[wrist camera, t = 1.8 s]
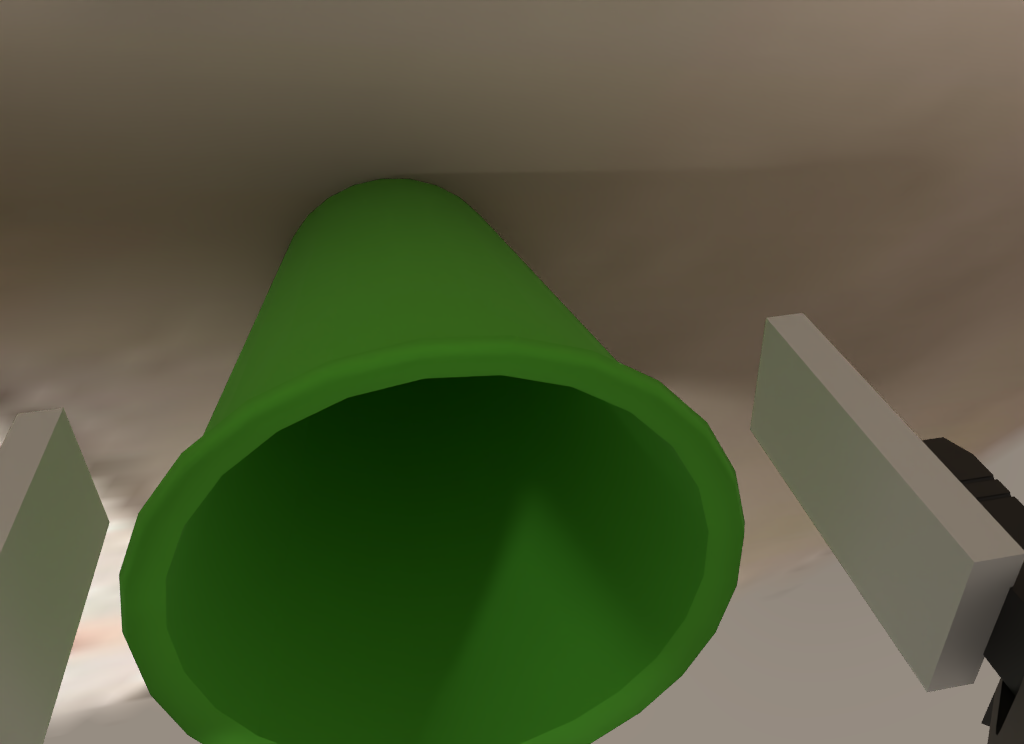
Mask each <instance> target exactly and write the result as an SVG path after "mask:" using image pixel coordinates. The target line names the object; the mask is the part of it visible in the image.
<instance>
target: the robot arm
mask: <svg viewBox="0 0 1024 744" xmlns="http://www.w3.org/2000/svg"><path fill="white" fill-rule="evenodd" d="M750 430H751V431H752V433H753V434H754V436H755V437H756V439H757V440H758V442H759V443H760V445H761V446H762V448H763V449H764V451H765V452H766V454H767V455H768V457H769V458H770V460H771V461H772V463H773V464H774V466H775V467H776V469H777V470H778V471H779V473H780V474H781V476H782V477H783V479H784V480H785V482H786V483H787V485H788V486H789V488H790V489H791V491H792V492H793V494H794V495H795V497H796V498H797V500H798V501H799V503H800V504H801V506H802V507H803V509H804V510H805V512H806V513H807V515H808V516H809V518H810V519H811V520H812V522H813V523H814V525H815V526H816V528H817V529H818V531H819V532H820V534H821V535H822V537H823V538H824V540H825V541H826V543H827V544H828V546H829V547H830V549H831V550H832V552H833V553H834V555H835V556H836V558H837V559H838V561H839V562H840V564H841V565H842V566H843V568H844V569H845V571H846V572H847V574H848V575H849V577H850V578H851V580H852V581H853V583H854V584H855V586H856V587H857V589H858V590H859V592H860V593H861V595H862V596H863V598H864V599H865V600H866V602H867V604H868V605H869V607H870V608H871V610H872V611H873V613H874V614H875V615H876V617H877V618H878V620H879V621H880V623H881V624H882V626H883V627H884V629H885V630H886V632H887V633H888V635H889V636H890V638H891V639H892V641H893V642H894V644H895V645H896V647H897V648H898V650H899V651H900V653H901V654H902V656H903V657H904V658H905V660H906V661H907V663H908V664H909V666H910V667H911V669H912V670H913V672H914V673H915V675H916V676H917V678H918V679H919V681H920V682H921V684H922V685H923V687H924V688H925V690H926V691H927V692H930V691H936V690H941V689H946V688H951V687H957V686H962V685H967V684H973V683H974V681H975V679H976V676H977V674H978V672H979V669H980V667H981V664H982V662H983V659H984V657H985V658H986V659H987V660H988V661H989V663H990V664H991V665H992V667H993V668H994V669H995V670H996V672H997V673H998V675H999V676H1000V677H1001V679H1000V681H999V684H998V686H997V688H996V691H995V693H994V695H993V698H992V700H991V702H990V704H989V707H988V709H987V711H986V714H985V716H984V718H983V721H982V724H985V725H987V726H990V730H989V737H988V744H1024V506H1023V505H1022V504H1021V503H1020V502H1019V501H1018V500H1017V499H1016V498H1015V497H1011V495H1010V492H1009V490H1007V488H1006V487H1004V486H1003V484H1002V483H1001V482H999V480H994V477H993V474H992V473H991V472H990V471H989V470H988V469H987V468H986V467H985V466H984V465H983V464H982V463H981V462H980V461H979V460H978V459H977V458H976V457H975V456H974V455H973V454H971V453H970V452H968V451H966V450H964V449H963V448H961V447H959V446H958V445H956V444H954V443H952V442H951V441H949V440H947V439H945V438H944V437H942V438H935V439H929V440H921V439H920V438H919V437H918V436H917V435H916V434H915V433H914V432H913V431H912V429H911V428H910V427H909V426H908V425H907V424H906V423H905V422H904V421H903V420H902V419H901V418H900V417H899V416H898V414H897V413H896V412H895V411H894V410H893V409H892V408H891V407H890V406H889V405H888V404H887V403H886V402H885V400H884V399H883V398H882V397H881V396H880V395H879V394H878V393H877V392H876V391H875V390H874V389H873V388H872V386H871V385H870V384H869V383H868V382H867V381H866V380H865V379H864V378H863V377H862V376H861V375H860V374H859V373H858V371H857V370H856V369H855V368H854V367H853V366H852V365H851V364H850V363H849V362H848V361H847V360H846V359H845V357H844V356H843V355H842V354H841V353H840V352H839V351H838V350H837V349H836V348H835V347H834V346H833V345H832V343H831V342H830V341H829V340H828V339H827V338H826V337H825V336H824V335H823V334H822V333H821V332H820V331H819V329H818V328H817V327H816V326H815V325H814V324H813V323H812V322H811V321H810V320H809V319H808V318H807V317H806V316H805V314H804V313H797V314H790V315H782V316H774V317H766V322H765V329H764V336H763V343H762V350H761V357H760V364H759V371H758V378H757V385H756V392H755V399H754V406H753V413H752V420H751V427H750ZM108 526H109V520H108V517H107V515H106V512H105V510H104V507H103V505H102V502H101V500H100V498H99V495H98V493H97V490H96V488H95V485H94V483H93V480H92V478H91V475H90V473H89V470H88V468H87V465H86V463H85V460H84V458H83V455H82V453H81V450H80V448H79V446H78V443H77V441H76V438H75V436H74V433H73V431H72V428H71V426H70V423H69V421H68V418H67V416H66V413H65V411H64V408H58V409H50V410H42V411H35V412H27V413H19V414H17V416H16V418H15V420H14V422H13V424H12V426H11V428H10V430H9V432H8V434H7V436H6V438H5V440H4V442H3V444H2V446H1V448H0V744H43V742H44V739H45V735H46V732H47V729H48V725H49V722H50V719H51V715H52V712H53V709H54V705H55V702H56V699H57V695H58V692H59V689H60V685H61V682H62V679H63V675H64V672H65V669H66V665H67V662H68V659H69V655H70V652H71V649H72V645H73V642H74V639H75V635H76V632H77V629H78V625H79V622H80V619H81V615H82V612H83V609H84V605H85V602H86V599H87V596H88V592H89V589H90V586H91V582H92V579H93V576H94V572H95V569H96V566H97V562H98V559H99V556H100V552H101V549H102V546H103V542H104V539H105V536H106V532H107V529H108Z"/></svg>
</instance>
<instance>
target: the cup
mask: <svg viewBox="0 0 1024 744" xmlns="http://www.w3.org/2000/svg"><path fill="white" fill-rule="evenodd" d="M744 525H745V521H744V516H743V510H742V505H741V500H740V494H739V489H738V483H737V478H736V472H735V470H734V468H733V466H732V465H731V463H730V461H729V459H728V458H727V456H726V454H725V453H724V451H723V449H722V447H721V446H720V444H719V442H718V441H717V439H716V437H715V435H714V434H713V432H712V430H711V429H710V427H709V425H708V423H707V422H706V421H705V420H703V419H702V418H701V417H700V416H699V415H698V414H697V413H695V412H694V411H693V410H692V409H691V408H690V407H689V406H687V405H686V404H685V403H684V402H683V401H682V400H680V399H679V398H678V397H677V396H676V395H675V394H674V393H672V392H671V391H670V390H669V389H668V388H667V387H666V386H664V385H663V384H662V383H661V382H660V381H658V380H656V379H654V378H652V377H649V376H647V375H645V374H643V373H641V372H639V371H636V370H634V369H632V368H630V367H628V366H625V365H623V364H621V363H619V362H617V361H616V360H615V359H614V358H613V357H612V355H611V354H610V353H609V352H608V351H607V350H606V349H605V348H604V347H603V346H602V345H601V344H600V343H599V342H598V341H597V340H596V338H595V337H594V336H593V335H592V334H591V333H590V332H589V331H588V330H587V329H586V328H585V327H584V326H583V325H582V324H581V322H580V321H579V320H578V319H577V318H576V317H575V316H574V315H573V314H572V313H571V312H570V311H569V310H568V309H567V308H566V307H565V305H564V304H563V303H562V302H561V301H560V300H559V299H558V298H557V297H556V296H555V295H554V294H553V293H552V292H551V291H550V290H549V288H548V287H547V286H546V285H545V284H544V283H543V282H542V281H541V280H540V279H539V278H538V277H537V276H536V275H535V274H534V272H533V271H532V270H531V269H530V268H529V267H528V266H527V265H526V264H525V263H524V262H523V261H522V260H521V259H520V258H519V257H518V255H517V254H516V253H515V252H514V251H513V250H512V249H511V248H510V247H509V246H508V245H507V244H506V243H505V242H504V241H503V240H502V238H501V237H500V236H499V235H498V234H497V233H496V232H495V231H494V230H493V229H492V228H491V227H490V226H489V225H488V224H487V222H486V221H485V220H484V219H483V218H482V217H481V216H480V215H479V214H478V213H477V212H476V211H475V210H473V209H472V208H471V207H470V206H469V205H468V204H467V203H465V202H464V201H463V200H462V199H461V198H460V197H458V196H456V195H454V194H452V193H450V192H448V191H446V190H444V189H442V188H440V187H438V186H436V185H432V184H428V183H424V182H420V181H416V180H412V179H378V180H374V181H370V182H366V183H361V184H357V185H353V186H351V187H349V188H347V189H345V190H343V191H341V192H339V193H337V194H335V195H333V196H331V197H329V198H328V199H327V200H326V201H324V202H323V203H322V204H321V205H320V206H319V207H317V208H316V209H315V210H314V211H313V212H311V213H310V214H309V215H308V216H307V218H306V219H305V221H304V222H303V224H302V225H301V226H300V228H299V229H298V231H297V232H296V234H295V235H294V236H293V239H292V241H291V243H290V245H289V247H288V250H287V252H286V254H285V256H284V258H283V261H282V263H281V265H280V267H279V269H278V272H277V274H276V276H275V278H274V280H273V283H272V285H271V287H270V289H269V292H268V294H267V296H266V298H265V300H264V303H263V305H262V307H261V309H260V311H259V314H258V316H257V318H256V320H255V322H254V325H253V327H252V329H251V331H250V333H249V336H248V338H247V340H246V342H245V344H244V347H243V349H242V351H241V353H240V355H239V358H238V360H237V362H236V364H235V366H234V369H233V371H232V373H231V375H230V377H229V380H228V382H227V384H226V386H225V389H224V391H223V393H222V395H221V397H220V400H219V402H218V404H217V406H216V408H215V411H214V413H213V415H212V417H211V419H210V422H209V424H208V426H207V428H206V430H205V433H204V435H203V436H202V437H201V438H200V439H199V440H197V441H196V442H195V443H194V444H192V445H191V446H190V447H189V448H187V449H186V450H185V451H184V452H183V453H181V455H180V456H179V458H178V459H177V460H176V462H175V463H174V465H173V466H172V467H171V469H170V470H169V471H168V473H167V474H166V476H165V477H164V478H163V480H162V481H161V483H160V484H159V485H158V487H157V488H156V490H155V491H154V492H153V494H152V495H151V497H150V498H149V499H148V501H147V502H146V504H145V505H144V506H143V508H142V509H141V510H140V512H139V513H138V516H137V520H136V523H135V526H134V529H133V532H132V536H131V539H130V542H129V545H128V548H127V551H126V555H125V558H124V561H123V564H122V567H121V570H120V574H119V580H120V598H121V616H122V632H123V635H124V637H125V639H126V641H127V643H128V646H129V648H130V650H131V652H132V655H133V657H134V659H135V661H136V664H137V666H138V668H139V670H140V673H141V675H142V677H143V679H144V681H145V684H146V686H147V688H148V690H149V693H150V695H151V696H152V697H153V698H154V699H155V700H156V701H157V702H158V703H159V705H160V706H161V707H162V708H163V709H164V710H165V711H166V712H167V713H168V714H169V715H170V716H171V717H172V718H173V720H174V721H175V722H176V723H177V724H178V725H179V726H180V727H181V728H182V729H183V730H184V731H185V732H186V734H187V735H189V736H190V737H192V738H194V739H195V740H197V741H199V742H200V743H202V744H591V743H592V742H594V741H595V740H597V739H599V738H600V737H602V736H603V735H605V734H606V733H608V732H610V731H611V730H613V729H615V728H616V727H618V726H619V725H621V724H623V723H624V722H626V721H627V720H629V719H631V718H632V717H634V716H635V715H637V714H639V713H640V712H641V711H642V710H643V709H644V708H646V707H647V706H648V705H649V704H650V703H651V702H653V701H654V700H655V699H656V698H657V697H658V696H659V695H661V694H662V693H663V692H664V691H665V690H666V689H667V688H668V687H669V686H671V685H672V684H673V683H674V682H675V681H676V680H678V679H679V678H680V677H681V676H682V675H683V674H684V672H685V671H686V670H687V669H688V667H689V666H690V665H691V663H692V662H693V661H694V660H695V658H696V657H697V656H698V654H699V653H700V651H701V650H702V649H703V648H704V647H705V645H706V644H707V643H708V641H709V640H710V639H711V637H712V636H713V635H714V634H715V632H716V630H717V628H718V626H719V623H720V621H721V619H722V617H723V614H724V612H725V610H726V608H727V606H728V604H729V601H730V599H731V597H732V595H733V593H734V590H735V588H736V586H737V580H738V573H739V566H740V559H741V553H742V546H743V539H744Z"/></svg>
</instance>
